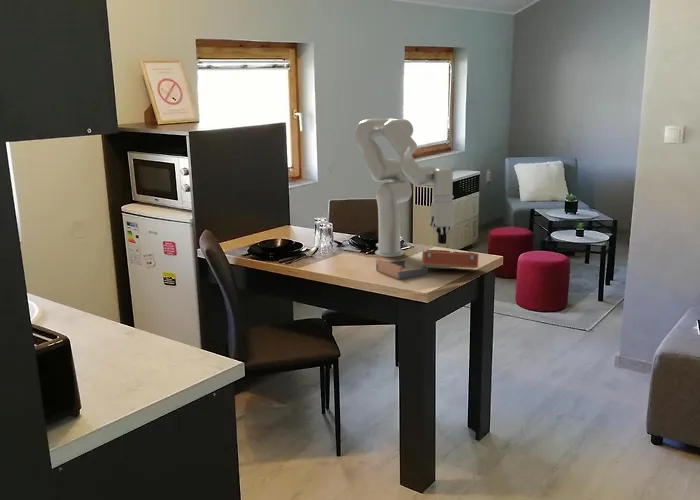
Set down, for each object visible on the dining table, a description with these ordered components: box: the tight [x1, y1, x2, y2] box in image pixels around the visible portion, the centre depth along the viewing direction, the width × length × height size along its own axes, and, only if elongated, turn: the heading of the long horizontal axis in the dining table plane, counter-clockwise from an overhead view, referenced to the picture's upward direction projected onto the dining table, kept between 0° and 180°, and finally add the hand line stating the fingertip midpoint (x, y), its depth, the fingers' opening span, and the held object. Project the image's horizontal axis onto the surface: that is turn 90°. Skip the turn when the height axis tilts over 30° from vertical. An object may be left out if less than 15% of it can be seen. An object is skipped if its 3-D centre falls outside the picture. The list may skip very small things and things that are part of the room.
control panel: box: [421, 249, 479, 270], centre depth 261 cm, size 21×7×15 cm
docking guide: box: [375, 258, 428, 281], centre depth 260 cm, size 16×13×5 cm
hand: (442, 243), depth 269 cm, fingers closed
